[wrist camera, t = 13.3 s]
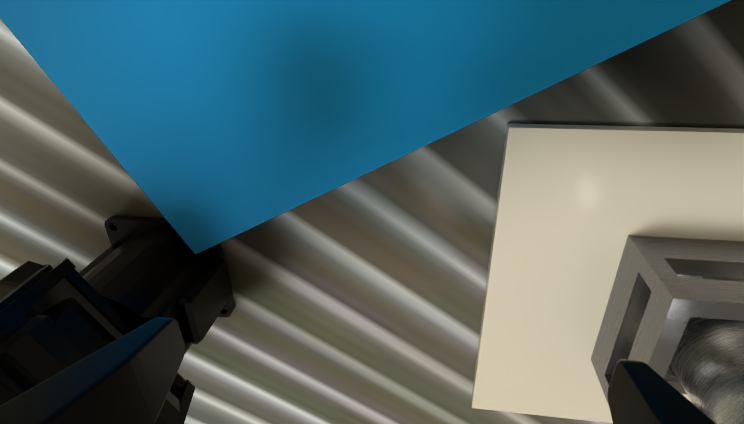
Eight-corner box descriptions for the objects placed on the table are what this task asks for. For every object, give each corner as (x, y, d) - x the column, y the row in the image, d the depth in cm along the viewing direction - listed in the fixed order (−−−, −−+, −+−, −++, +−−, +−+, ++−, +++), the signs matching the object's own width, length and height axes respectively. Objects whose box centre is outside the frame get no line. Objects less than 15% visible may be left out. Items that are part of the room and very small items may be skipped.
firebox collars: (590, 359, 24) (620, 435, 20) (627, 235, 20) (674, 298, 16) (750, 373, 23) (815, 457, 19) (821, 245, 19) (921, 316, 15)
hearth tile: (471, 399, 28) (471, 407, 27) (507, 123, 19) (508, 127, 19) (825, 437, 25) (833, 447, 25) (1049, 135, 17) (1068, 140, 16)
